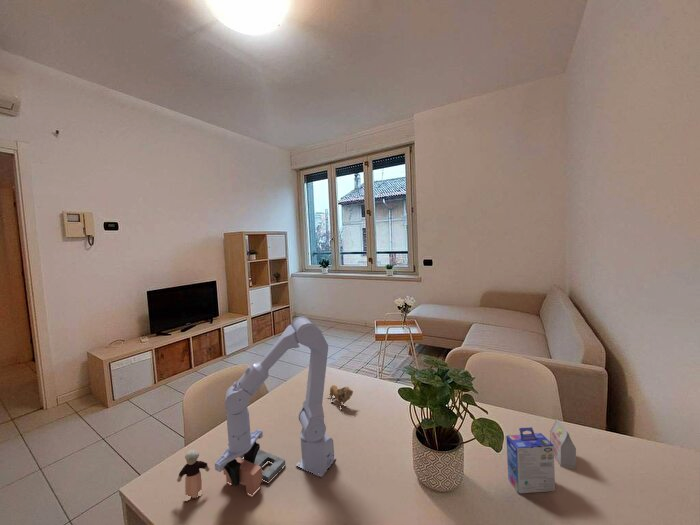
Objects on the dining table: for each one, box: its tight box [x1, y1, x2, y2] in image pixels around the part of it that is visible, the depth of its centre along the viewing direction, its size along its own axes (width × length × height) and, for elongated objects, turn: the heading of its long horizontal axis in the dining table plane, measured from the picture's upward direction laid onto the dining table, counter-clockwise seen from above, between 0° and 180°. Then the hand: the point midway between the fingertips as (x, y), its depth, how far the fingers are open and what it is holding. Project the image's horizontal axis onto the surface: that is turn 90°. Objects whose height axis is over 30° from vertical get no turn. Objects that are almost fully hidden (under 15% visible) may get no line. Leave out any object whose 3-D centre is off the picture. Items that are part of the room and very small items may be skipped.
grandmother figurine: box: [176, 448, 211, 499], centre depth 76 cm, size 8×4×13 cm, turn 126°
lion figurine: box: [328, 384, 354, 407], centre depth 117 cm, size 15×5×9 cm, turn 45°
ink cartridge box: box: [505, 426, 556, 494], centre depth 74 cm, size 10×6×14 cm, turn 92°
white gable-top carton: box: [549, 418, 577, 469], centre depth 83 cm, size 4×7×10 cm, turn 166°
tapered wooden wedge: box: [222, 457, 263, 495], centre depth 79 cm, size 12×3×6 cm, turn 62°
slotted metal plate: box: [240, 448, 286, 482], centre depth 86 cm, size 16×7×2 cm, turn 62°
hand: (242, 477), depth 79 cm, fingers open, 4 cm apart
